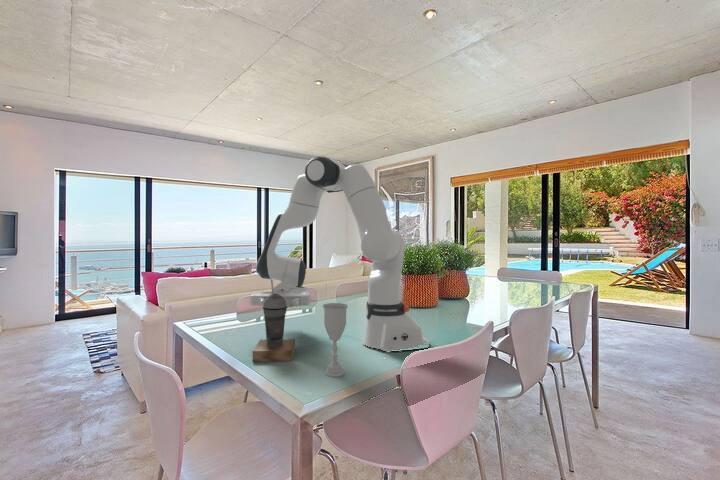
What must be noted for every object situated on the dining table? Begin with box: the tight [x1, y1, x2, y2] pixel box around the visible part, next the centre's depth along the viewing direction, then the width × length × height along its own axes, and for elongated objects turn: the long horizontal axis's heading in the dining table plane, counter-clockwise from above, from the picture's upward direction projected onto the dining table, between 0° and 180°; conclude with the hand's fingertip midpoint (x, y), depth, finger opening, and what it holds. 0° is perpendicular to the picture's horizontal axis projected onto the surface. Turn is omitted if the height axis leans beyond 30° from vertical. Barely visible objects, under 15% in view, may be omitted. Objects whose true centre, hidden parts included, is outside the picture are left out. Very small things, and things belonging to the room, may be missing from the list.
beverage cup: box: [262, 279, 288, 347], centre depth 105 cm, size 7×7×20 cm
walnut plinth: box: [252, 338, 296, 362], centre depth 105 cm, size 11×11×3 cm
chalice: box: [322, 302, 349, 378], centre depth 92 cm, size 7×7×18 cm
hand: (277, 303), depth 111 cm, fingers open, 8 cm apart
